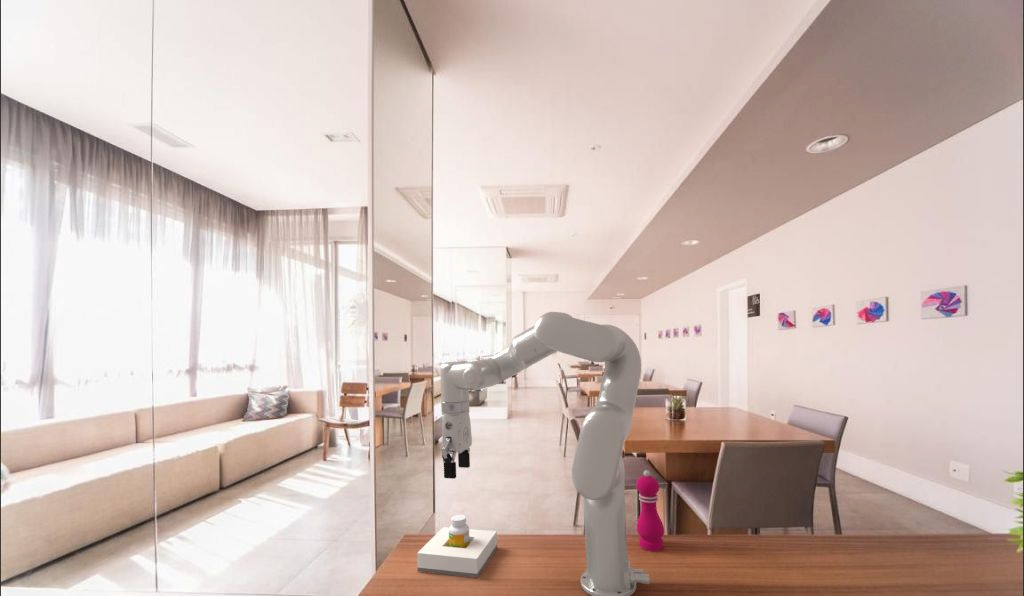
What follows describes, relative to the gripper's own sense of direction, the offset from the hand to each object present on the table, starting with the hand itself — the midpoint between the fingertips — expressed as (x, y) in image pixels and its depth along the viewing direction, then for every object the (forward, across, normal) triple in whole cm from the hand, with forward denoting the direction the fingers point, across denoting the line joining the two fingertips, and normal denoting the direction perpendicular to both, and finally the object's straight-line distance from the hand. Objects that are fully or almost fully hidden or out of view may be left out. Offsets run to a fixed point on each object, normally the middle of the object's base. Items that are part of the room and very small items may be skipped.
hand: (457, 472), depth 122 cm
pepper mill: (+23, +17, -49) cm, 56 cm away
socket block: (+22, 0, 0) cm, 22 cm away
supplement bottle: (+22, 0, 0) cm, 22 cm away
